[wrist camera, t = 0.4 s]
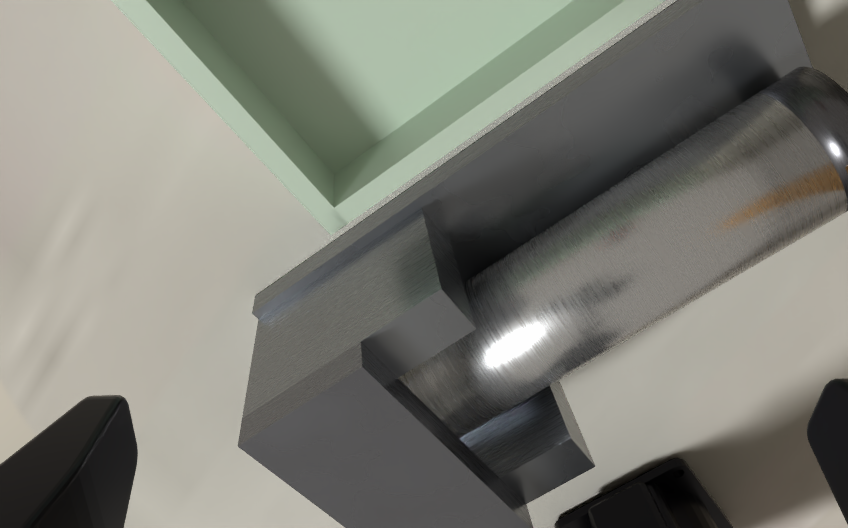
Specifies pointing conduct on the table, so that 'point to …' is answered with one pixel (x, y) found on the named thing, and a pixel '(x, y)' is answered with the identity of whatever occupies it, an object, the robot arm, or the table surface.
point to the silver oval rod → (646, 248)
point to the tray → (369, 78)
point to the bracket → (463, 259)
